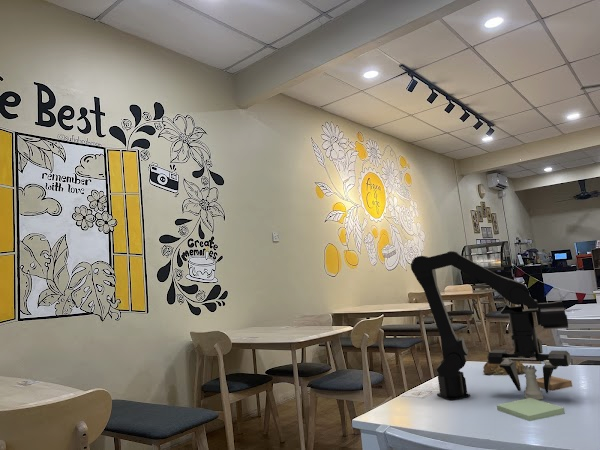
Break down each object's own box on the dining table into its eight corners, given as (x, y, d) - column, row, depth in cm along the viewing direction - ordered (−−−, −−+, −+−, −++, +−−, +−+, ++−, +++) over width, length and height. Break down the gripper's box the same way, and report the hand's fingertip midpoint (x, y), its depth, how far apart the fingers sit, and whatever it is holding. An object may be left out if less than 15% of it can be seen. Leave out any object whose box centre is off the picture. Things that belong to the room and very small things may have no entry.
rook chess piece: (546, 400, 110) (541, 367, 111) (527, 401, 111) (522, 368, 112) (540, 395, 115) (535, 364, 116) (522, 396, 115) (517, 365, 116)
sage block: (530, 425, 96) (528, 416, 97) (498, 413, 106) (496, 405, 106) (565, 416, 99) (564, 407, 100) (531, 406, 109) (529, 397, 109)
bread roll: (520, 366, 148) (518, 351, 149) (529, 375, 136) (527, 359, 137) (480, 368, 151) (478, 354, 152) (486, 377, 139) (483, 361, 140)
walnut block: (552, 392, 118) (551, 384, 118) (532, 387, 124) (530, 379, 125) (572, 388, 120) (571, 380, 120) (551, 382, 126) (550, 375, 127)
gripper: (568, 325, 116) (579, 386, 114) (494, 326, 127) (502, 381, 125) (561, 331, 107) (573, 398, 105) (482, 332, 118) (491, 392, 116)
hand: (533, 391), depth 113 cm, fingers open, 6 cm apart
